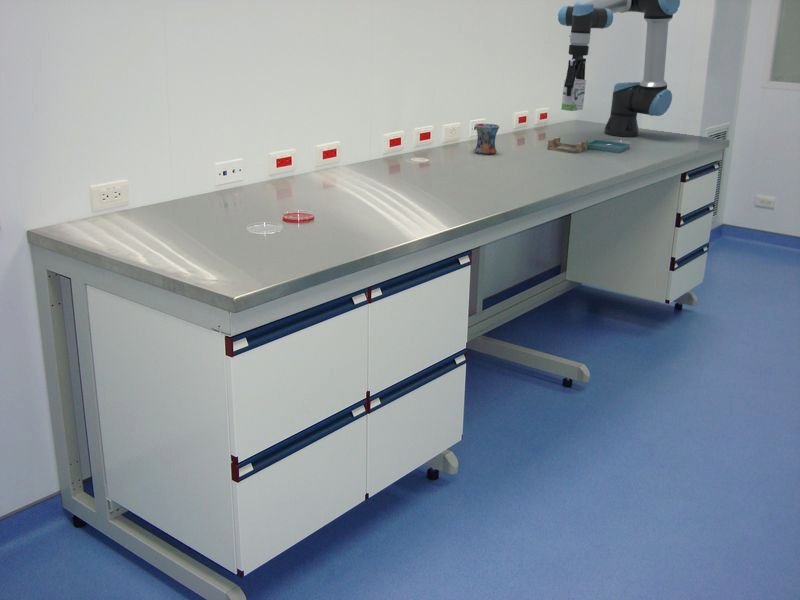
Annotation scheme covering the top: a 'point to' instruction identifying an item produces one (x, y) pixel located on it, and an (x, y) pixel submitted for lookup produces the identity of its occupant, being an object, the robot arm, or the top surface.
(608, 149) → the tray
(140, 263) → the top surface
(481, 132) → the mug
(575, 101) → the ink box
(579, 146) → the frame
